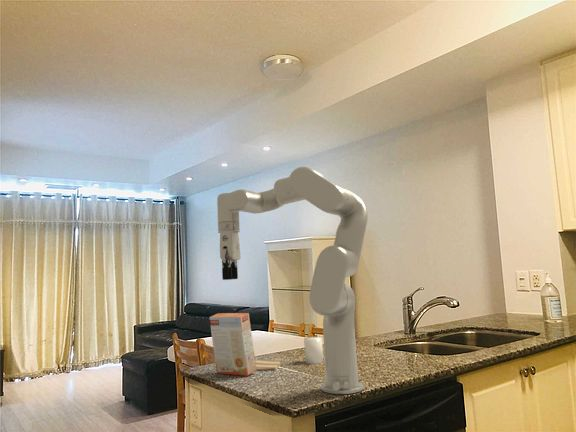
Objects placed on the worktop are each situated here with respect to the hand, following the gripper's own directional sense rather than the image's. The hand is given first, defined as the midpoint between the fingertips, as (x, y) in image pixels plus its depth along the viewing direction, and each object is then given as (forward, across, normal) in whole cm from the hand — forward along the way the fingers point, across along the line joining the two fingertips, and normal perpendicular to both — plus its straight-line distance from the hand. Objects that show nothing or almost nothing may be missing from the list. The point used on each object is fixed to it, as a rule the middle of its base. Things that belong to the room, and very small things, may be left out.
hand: (230, 278), depth 151 cm
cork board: (+34, +21, -3) cm, 40 cm away
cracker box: (+33, +9, +1) cm, 35 cm away
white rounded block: (+34, +27, -25) cm, 50 cm away
